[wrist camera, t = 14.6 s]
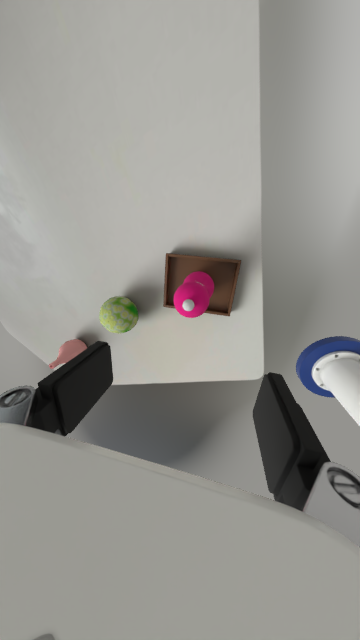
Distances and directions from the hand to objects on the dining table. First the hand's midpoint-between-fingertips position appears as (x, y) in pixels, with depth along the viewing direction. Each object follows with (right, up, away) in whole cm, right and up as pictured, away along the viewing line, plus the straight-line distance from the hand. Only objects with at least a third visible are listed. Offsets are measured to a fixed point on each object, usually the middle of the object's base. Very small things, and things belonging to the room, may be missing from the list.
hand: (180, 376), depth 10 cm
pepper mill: (+5, +12, +33) cm, 36 cm away
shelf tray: (+5, +13, +34) cm, 36 cm away
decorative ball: (-15, +7, +40) cm, 44 cm away
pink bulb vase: (-34, -6, +49) cm, 60 cm away
